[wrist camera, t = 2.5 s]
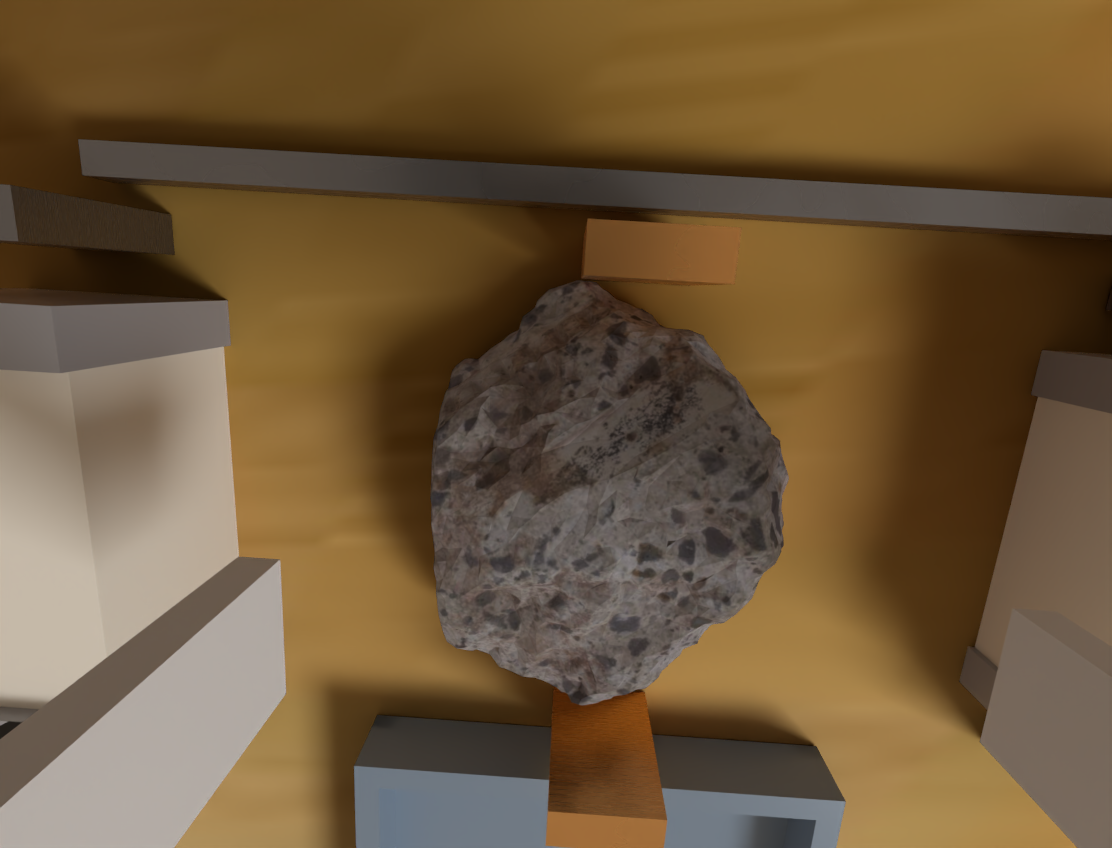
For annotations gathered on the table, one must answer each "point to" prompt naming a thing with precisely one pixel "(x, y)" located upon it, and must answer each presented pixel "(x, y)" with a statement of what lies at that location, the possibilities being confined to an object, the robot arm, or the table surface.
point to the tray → (523, 777)
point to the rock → (598, 496)
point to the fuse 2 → (1055, 514)
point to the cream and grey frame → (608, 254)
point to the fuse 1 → (105, 476)
